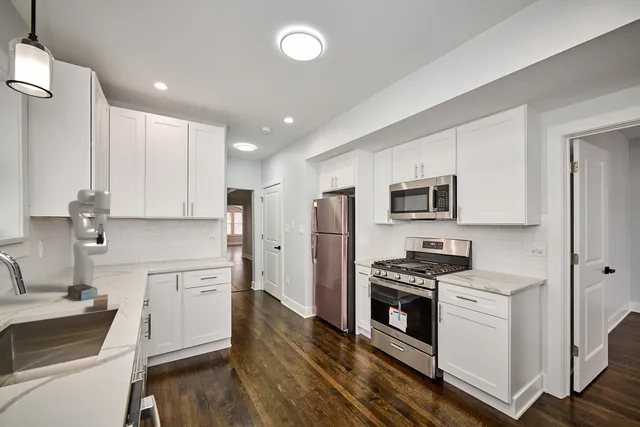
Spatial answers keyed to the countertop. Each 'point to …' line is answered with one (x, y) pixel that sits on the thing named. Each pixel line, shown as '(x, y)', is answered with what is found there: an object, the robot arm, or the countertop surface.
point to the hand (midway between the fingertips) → (99, 244)
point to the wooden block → (100, 303)
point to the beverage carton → (82, 292)
